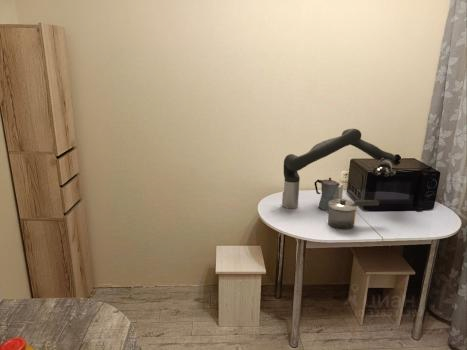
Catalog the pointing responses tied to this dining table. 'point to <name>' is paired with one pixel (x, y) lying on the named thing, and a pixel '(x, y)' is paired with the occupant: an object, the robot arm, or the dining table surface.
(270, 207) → the dining table surface
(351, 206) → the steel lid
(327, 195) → the moka pot
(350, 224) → the cooker pot
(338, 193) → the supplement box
